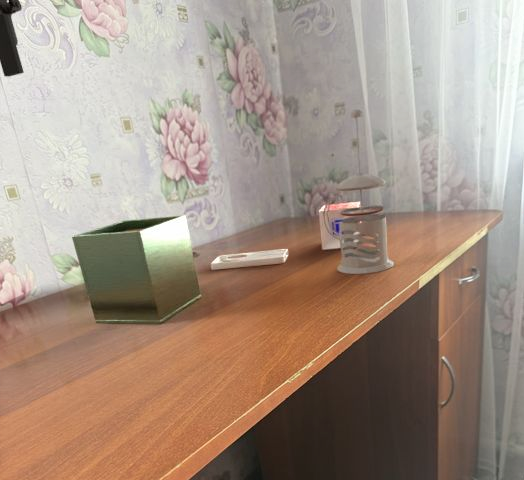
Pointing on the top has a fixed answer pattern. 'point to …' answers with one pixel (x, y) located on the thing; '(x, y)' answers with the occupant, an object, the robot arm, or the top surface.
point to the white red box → (334, 224)
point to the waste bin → (138, 270)
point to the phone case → (250, 259)
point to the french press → (361, 226)
